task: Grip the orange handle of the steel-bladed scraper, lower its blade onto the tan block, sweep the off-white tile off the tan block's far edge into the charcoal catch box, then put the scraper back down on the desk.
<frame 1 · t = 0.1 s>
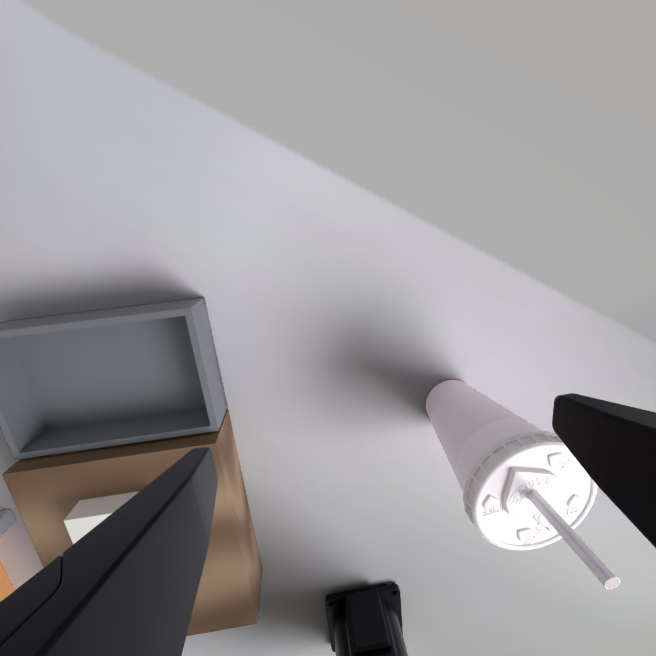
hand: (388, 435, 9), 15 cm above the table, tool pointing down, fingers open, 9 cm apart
smoothie: (448, 401, 26), on the table
tile: (133, 526, 21), point 4 cm above the table, touching tan block
tan block: (166, 508, 26), on the table
catch box: (124, 366, 23), on the table
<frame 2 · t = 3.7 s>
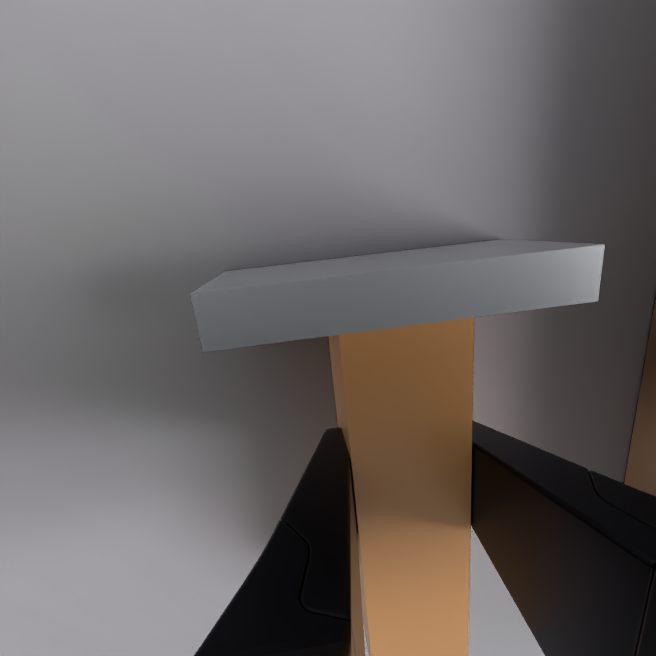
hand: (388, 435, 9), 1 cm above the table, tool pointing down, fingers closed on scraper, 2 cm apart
scraper: (380, 429, 10), on the table, touching gripper
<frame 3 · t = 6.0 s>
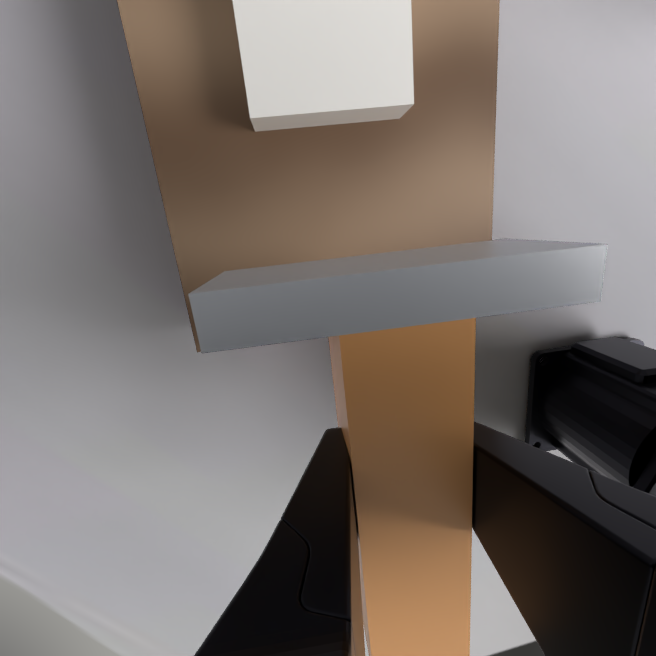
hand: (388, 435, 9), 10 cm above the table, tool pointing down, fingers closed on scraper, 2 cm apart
tile: (320, 38, 11), point 4 cm above the table, touching tan block
tan block: (319, 150, 16), on the table
scraper: (380, 430, 10), point 9 cm above the table, touching gripper
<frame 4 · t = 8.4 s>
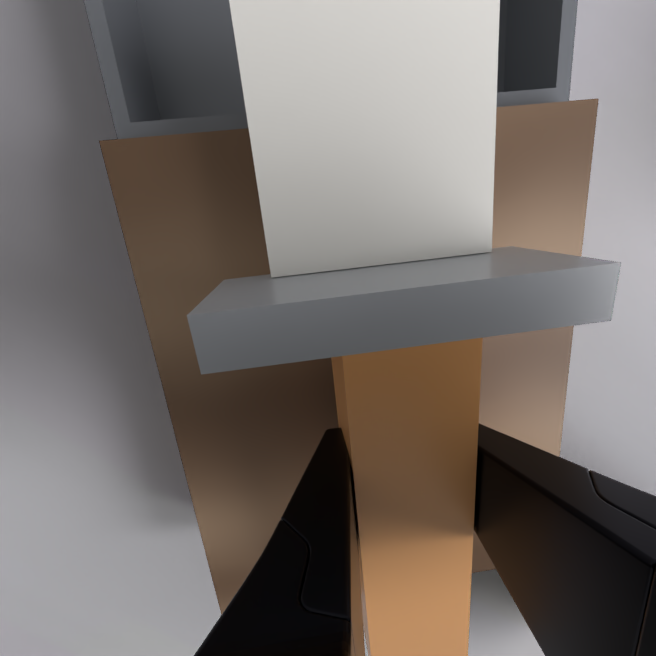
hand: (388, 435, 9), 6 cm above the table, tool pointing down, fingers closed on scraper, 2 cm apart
tile: (362, 154, 8), point 4 cm above the table, touching scraper
tan block: (355, 354, 14), on the table
scraper: (381, 437, 10), point 5 cm above the table, touching gripper, tile
catch box: (327, 10, 11), on the table
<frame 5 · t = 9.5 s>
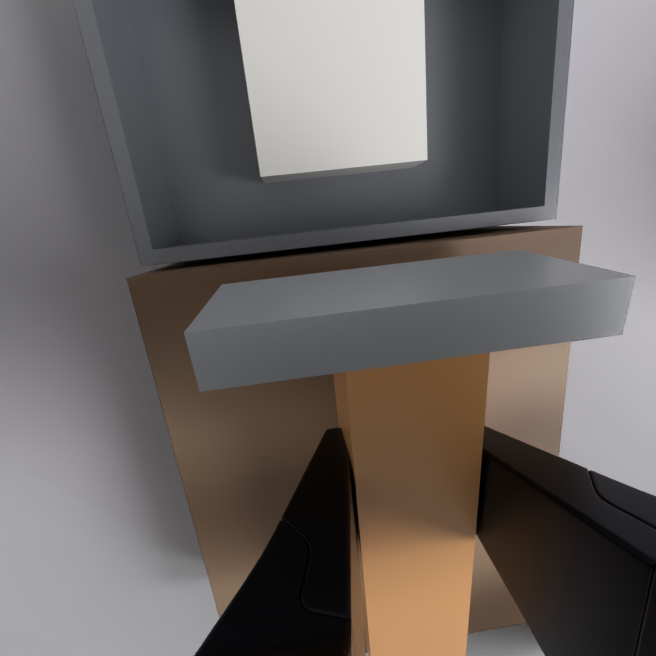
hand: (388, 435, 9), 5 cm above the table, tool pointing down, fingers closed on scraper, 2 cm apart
tile: (336, 69, 9), point 2 cm above the table, tilted 180°, touching catch box
tan block: (358, 421, 15), on the table
scraper: (382, 440, 10), point 5 cm above the table, touching gripper
catch box: (331, 119, 12), on the table
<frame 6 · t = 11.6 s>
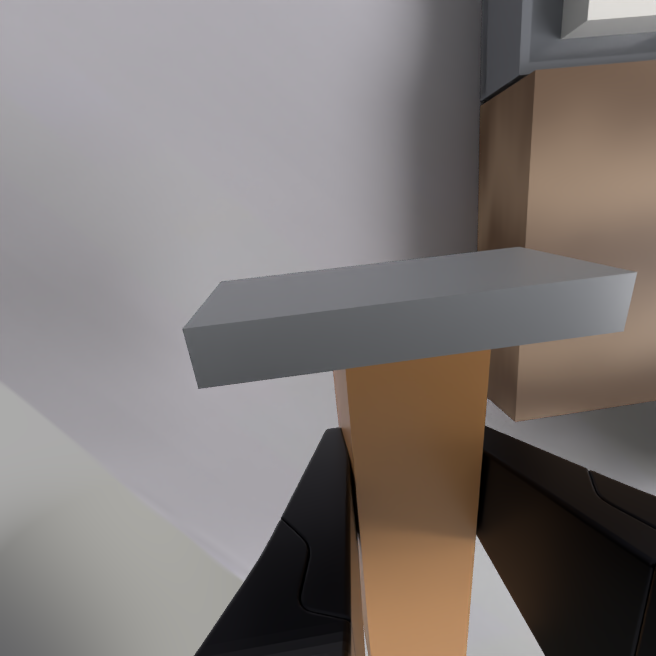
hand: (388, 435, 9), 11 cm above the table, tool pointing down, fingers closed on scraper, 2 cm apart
tan block: (581, 249, 19), on the table
scraper: (382, 439, 10), point 10 cm above the table, touching gripper
when the fingers open (1 cm above the table, at t = 13.4 s): scraper stays where it is, on the table.
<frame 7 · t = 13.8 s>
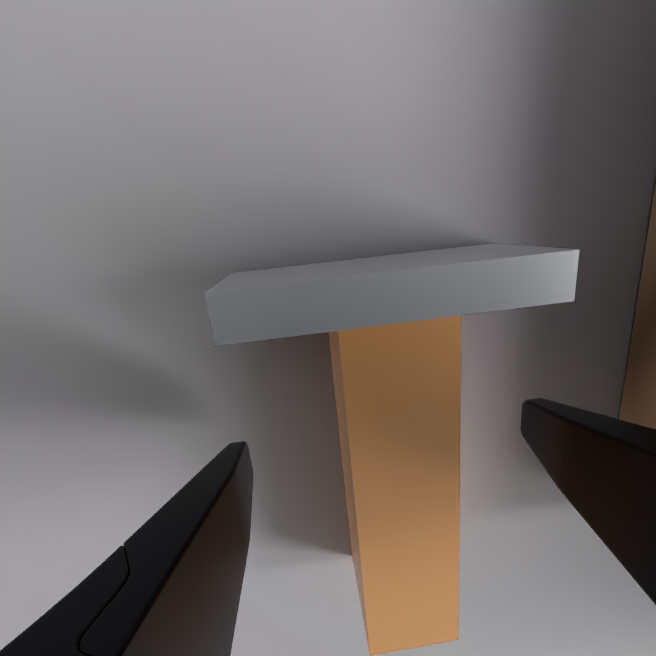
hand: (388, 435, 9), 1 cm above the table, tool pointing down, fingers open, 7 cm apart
scraper: (377, 422, 11), on the table
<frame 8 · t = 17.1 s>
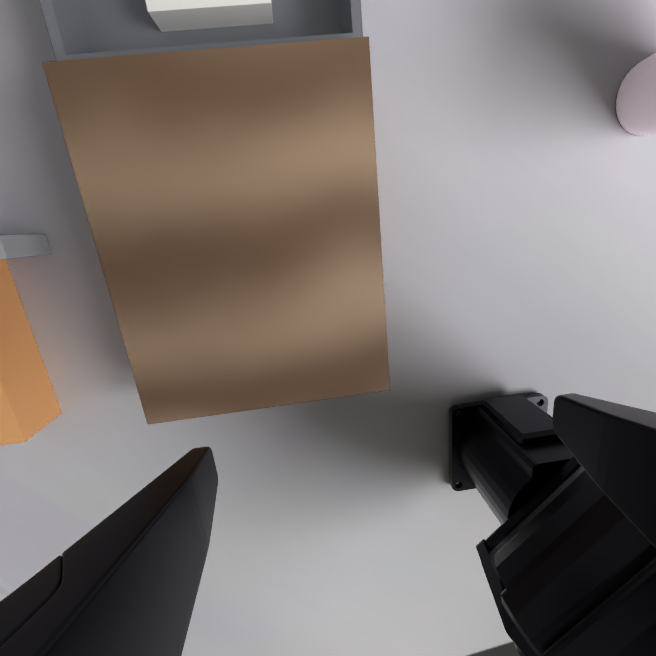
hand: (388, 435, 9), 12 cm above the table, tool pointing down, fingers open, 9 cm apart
smoothie: (645, 99, 19), on the table
tan block: (255, 248, 19), on the table
scraper: (10, 334, 19), on the table
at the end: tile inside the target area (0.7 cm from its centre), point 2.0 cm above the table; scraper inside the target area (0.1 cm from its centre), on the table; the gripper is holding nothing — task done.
